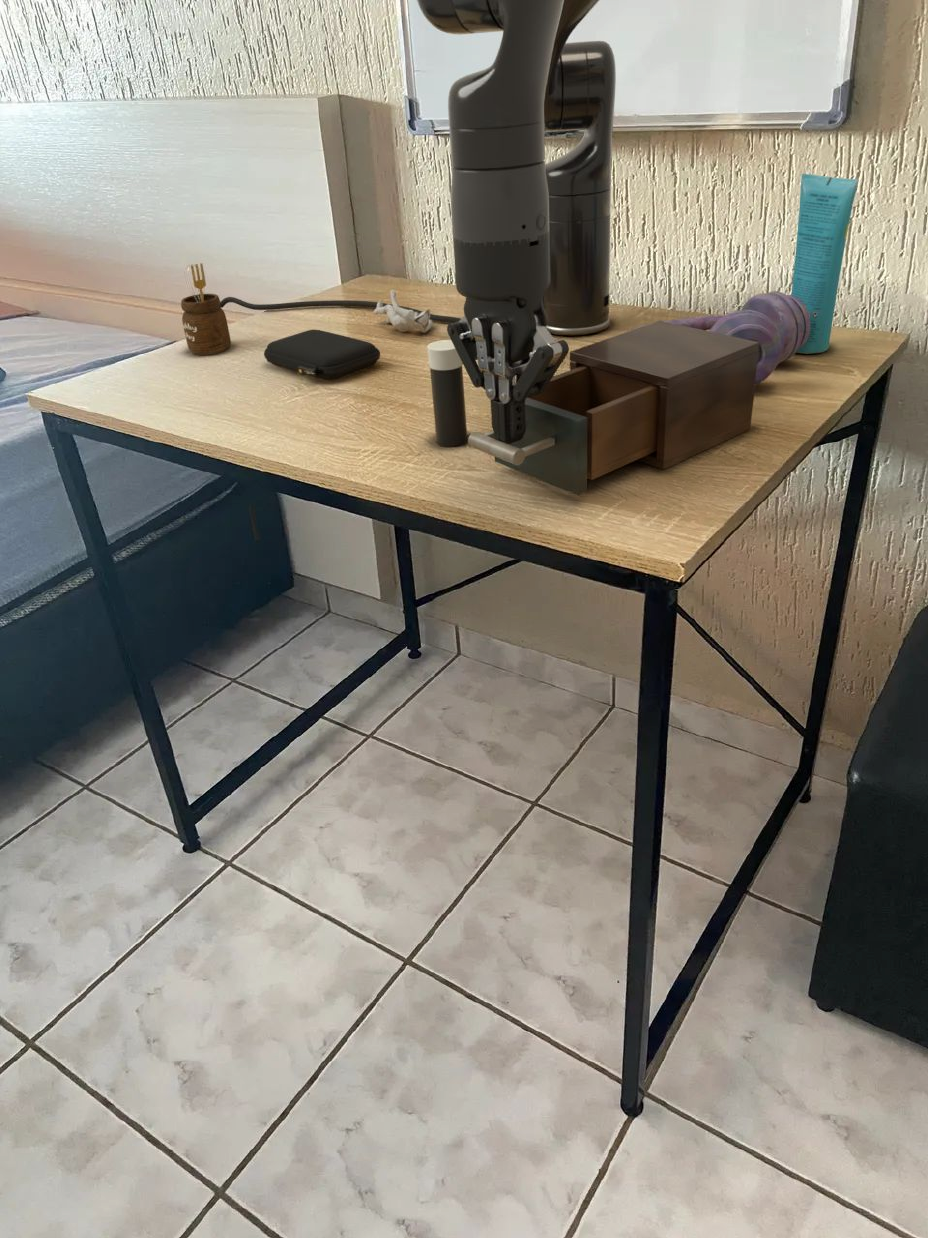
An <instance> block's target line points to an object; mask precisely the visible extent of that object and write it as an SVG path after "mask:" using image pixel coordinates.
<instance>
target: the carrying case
mask: <svg viewBox="0 0 928 1238" xmlns="http://www.w3.org/2000/svg"><path fill="white" fill-rule="evenodd" d="M263 356H264V359H265V360H266V362H268V363H271V364H272V365H274V366H275V367H279V368H283V369H286V370H289V371H292V372H295V373H298V374H299V375H300V376H309V377H313V378H316V379H320V380H323V381H336V380H339V379H343V378H345V377H348V376H349V375H350V376H351V375H354V374H356V373H359V372H362V371H364V370H367V369H370V368H373V367H374V366H375V365H376V364H377V363H378V361H379V359H380V358H381V351H380V350H379V348H377V347H376V345H374V344H373V343H372V342H369V341H366V340H361V339H357V338H354V337H350V336H347V335H342V334H339V333H334V332H330V331H327V330H326V331H325V330H321V329H307V330H305V331H302V332H299V333H295V334H293V335H289V336H286V337H282V338H280V339H276V340H273V341H271V342H269V343H268V344H267V345H266V348H265V349H264V352H263Z"/></svg>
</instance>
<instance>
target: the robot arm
mask: <svg viewBox="0 0 928 1238" xmlns="http://www.w3.org/2000/svg"><path fill="white" fill-rule="evenodd" d="M600 1H601V0H416V3H417V5H418V7H419V10H420V11H421V13H422V15H423V16H424V18H425V20H427V21H428V22H429V24H431V25H432V26H433V27H434V28H435V29H437V30H438V31H441V32H443V33H445V34H451V35H472V34H473V35H474V34H484V33H485V34H486V33H497V32H498V33H499V32H503V33H502V36H501V41H500V44H499V47H498V51H497V53H496V56H495V59H494V60H493V62H492V64H491V65H490V66H488V67H487V68H484V69H482V70H478V71H476V72H472V73H470V74H466V75H465V76H462V77H459V78H458V79H457V80H455V81H454V82H453V84H451V86H450V89H449V92H448V97H447V109H448V110H447V112H448V115H447V116H448V128H449V129H448V130H449V144H450V145H449V146H450V162H451V185H450V186H451V188H450V213H451V227H452V228H451V229H452V230H451V231H452V242H453V243H452V245H453V255H454V256H453V259H454V273H455V274H454V275H455V287H456V290H457V292H458V294H459V295H461V296H462V297H464V298H465V301H464V304H463V316H462V317H455V316H447V315H439V314H433V313H430V318H429V320H431V321H435V322H440V323H441V322H442V323H449V324H448V325H447V326H446V333H447V334H448V337H449V340H451V341H452V343H453V345H454V347H455V349H456V351H457V353H458V355H459V357H460V359H461V361H462V363H463V365H462V366H463V367H464V370H465V371H466V373H467V375H468V377H469V379H470V381H471V383H472V385H473V386H474V387H475V388H476V389H478V388H482V389H483V390H484V391H485V395H486V397H487V398H488V399H489V400H490V415H491V417H490V418H491V428H492V431H493V432H494V438H495V439H496V440H499V441H501V442H504V443H506V444H511V443H513V442H516V441H519V440H521V439H522V438H523V436H524V434H525V431H526V424H525V423H526V420H525V400H526V398H528V397H531V396H534V395H538V394H541V393H543V391H544V390H545V388H546V386H547V385H548V383H549V382H550V380H551V379H552V377H553V376H555V374H556V373H557V371H558V369H559V368H560V366H561V365H562V364H563V362H564V360H565V358H566V357H567V356H568V354H569V353H570V346H569V344H568V342H567V341H566V340H565V339H560V340H557V341H556V339H555V338H554V337H553V335H557V336H558V335H560V336H581V335H583V336H584V335H590V334H594V333H598V332H602V331H603V330H606V329H607V328H608V327H609V326H610V319H611V318H610V305H611V295H610V274H611V273H610V272H611V271H610V270H611V269H610V267H611V203H612V202H611V201H612V199H611V198H612V197H611V196H612V163H613V162H612V160H613V158H612V157H613V131H614V116H615V114H614V113H615V101H616V86H617V85H616V84H617V83H616V82H617V72H616V71H617V69H616V59H615V54H614V52H613V48H612V47H611V45H610V44H609V43H608V42H607V41H604V40H590V41H588V40H587V41H576V42H575V41H574V42H567V41H568V39H569V38H570V36H571V35H572V33H573V32H574V31H575V29H576V28H577V27H578V26H579V24H580V23H581V22H582V21H583V19H585V18H586V16H587V15H588V14H589V13H590V12H591V11H592V10H593V8H594V7H596V5H597V4H598V3H599V2H600ZM579 130H580V131H581V130H584V132H583V137H582V138H581V140H580V141H579V142H578V144H576V146H574V147H573V148H572V149H571V150H570V151H568V152H567V153H565V154H564V155H561V156H560V157H558V158H556V159H554V160H552V161H549V162H547V163H546V162H545V160H546V142H545V140H546V139H545V138H546V137H545V136H546V135H545V134H546V133H553V132H554V133H555V132H556V133H557V132H569V131H579ZM220 302H221V305H220V308H222V309H223V308H224V307H225V306H226V305H227V304H229V303H233V304H236V305H239V306H241V307H243V308H246V309H249V310H254V311H272V310H273V311H274V310H285V309H297V308H307V307H308V308H313V307H314V308H315V307H362V308H363V307H364V308H375V309H376V308H377V303H378V302H379V301H370V300H345V299H343V300H342V299H341V300H339V299H338V300H334V299H333V300H307V301H294V302H283V303H268V304H267V303H265V304H264V303H263V304H257V303H256V304H255V303H250V302H246V301H244V300H242V299H239V298H237V297H233V296H227V297H224V298H223V299H222V300H220ZM382 303H383V305H382V307H384V306H386V305H388V304H389V305H392V303H386V302H382ZM392 306H393V305H392ZM399 307H400V308H403V309H407V310H413V311H414V312H417V313H418V314H420V313H422V312H423V311H422V310H419V309H416V308H412V307H407V306H402V305H399ZM552 334H553V335H552ZM248 510H249V514H250V519H251V523H252V524H251V525H252V529H253V534H254V539H255V541H260V539H261V538H260V532H259V527H258V523H257V517H256V513H255V507H254V506H252V505H248Z"/></svg>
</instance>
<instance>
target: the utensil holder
mask: <svg viewBox="0 0 928 1238" xmlns="http://www.w3.org/2000/svg"><path fill="white" fill-rule="evenodd" d="M199 266H200V267H199ZM189 268H190V271H191V276H192V281H193V286H192V284H191V282H188V281H191V279H190V278H189V277H190V274H189V273H188V269H189ZM184 271H185V275H184V279H186V280H185V282H186V283H187V284H186V285H187V288H188V289H189V291H190V292H189V293H191V295H188V296H186V297H183V298H182V299H181V300H180V305H181V310H182V311H183V313H182V315H181V319H182V320H181V321H182V328H183V332H184V337H185V340H186V345H187V348H188V350H189V352H190V353H191V354H193V355H197V356H209V355H210V356H211V355H215V354H220V353H223V352H225V351H227V350H229V349H230V348H231V345H232V341H231V340H232V339H231V334H230V330H229V325H228V320H227V316H226V313H225V310H224V309H223V307H222V308H220V305H221V299H220V297H219V295H218V294H216V293H204V291H203V290H205V287H206V286H207V283H206V276H205V270H204V266H203V263H202V262H200V263H199V264H198V263H195V264H189V265H187V266H186V267H185V269H184ZM195 271H196V272H195ZM193 287H194V288H195V289H197V290H198V291H197V290H195V291H196V293H195V291H194V288H193ZM198 292H199V293H198Z"/></svg>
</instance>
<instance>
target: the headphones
mask: <svg viewBox="0 0 928 1238" xmlns="http://www.w3.org/2000/svg"><path fill="white" fill-rule="evenodd" d="M663 321H664V322H669V323H673V324H678V325H682V326H687V327H692V328H696V329H701V330H705V331H710V332H714V333H719V334H723V335H728V336H732V337H737V338H742V339H746V340H751V341H755V342H759V351H758V360H757V370H756V380H755V386H756V385H758V384H760V383H763V381H765V380H766V379H767V378H769V377H770V376H771V375H772V374H773V372H774V371H775V369H776V368H777V366H778V365H779V364H781V363H783V362H785V361H787V360H789V359H791V358H792V357H794V356H795V354H797V351H798V349H799V348H801V347H802V346H803V345H804V344H805V343H806V341H807V339H808V337H809V334H810V327H811V324H810V317H809V313H808V310H807V308H806V307H805V305H804V304H803V302H802V301H801V300H800V299H799V298H797V297H795V296H793V295H792V294H786V293H783V292H781V291H777V290H775V291H774V290H773V291H772V290H771V291H769V292H763V293H762V292H761V293H758V294H755V295H753V296H752V297H750V298H749V299H748V300H747V301H746V302H745V303H744V305H743V306H742V307H741V309H739V310H734V311H731V312H729V313H726V314H723V315H709V316H708V315H707V316H706V315H705V316H692V317H683V318H676V319H669V320H663ZM649 324H650V323H648V324H643V325H640V326H637V327H634V328H631V330H634V329H637V328H640V327H643V326H646V325H649Z"/></svg>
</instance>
